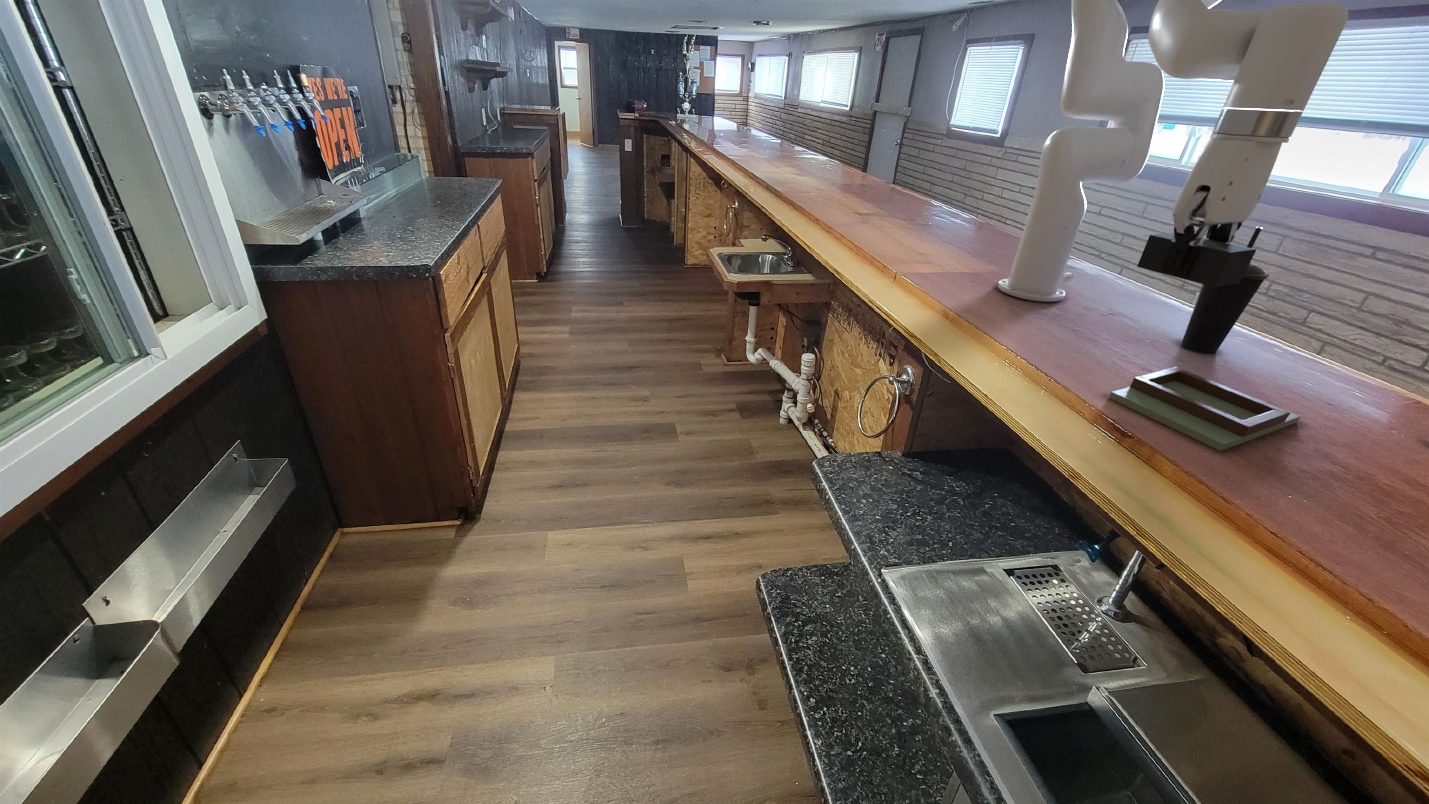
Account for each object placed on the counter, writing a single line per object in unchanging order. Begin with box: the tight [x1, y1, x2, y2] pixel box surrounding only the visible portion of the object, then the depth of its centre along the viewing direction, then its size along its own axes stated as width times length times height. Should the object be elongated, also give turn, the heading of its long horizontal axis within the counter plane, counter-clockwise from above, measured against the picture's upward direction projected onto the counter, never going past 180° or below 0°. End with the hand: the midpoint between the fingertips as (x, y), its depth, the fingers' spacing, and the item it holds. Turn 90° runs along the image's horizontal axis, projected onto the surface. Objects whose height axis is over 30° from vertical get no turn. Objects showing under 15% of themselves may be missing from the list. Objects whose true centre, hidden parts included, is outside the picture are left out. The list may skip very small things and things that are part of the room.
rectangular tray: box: [1108, 366, 1302, 452], centre depth 76 cm, size 18×14×2 cm
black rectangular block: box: [1136, 232, 1258, 287], centre depth 77 cm, size 10×6×4 cm, turn 25°
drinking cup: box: [1180, 227, 1270, 355], centre depth 91 cm, size 8×8×20 cm
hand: (1188, 270), depth 78 cm, fingers closed on black rectangular block, 6 cm apart
